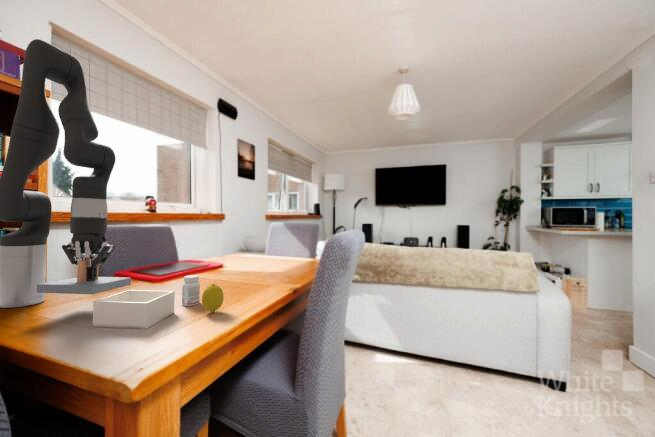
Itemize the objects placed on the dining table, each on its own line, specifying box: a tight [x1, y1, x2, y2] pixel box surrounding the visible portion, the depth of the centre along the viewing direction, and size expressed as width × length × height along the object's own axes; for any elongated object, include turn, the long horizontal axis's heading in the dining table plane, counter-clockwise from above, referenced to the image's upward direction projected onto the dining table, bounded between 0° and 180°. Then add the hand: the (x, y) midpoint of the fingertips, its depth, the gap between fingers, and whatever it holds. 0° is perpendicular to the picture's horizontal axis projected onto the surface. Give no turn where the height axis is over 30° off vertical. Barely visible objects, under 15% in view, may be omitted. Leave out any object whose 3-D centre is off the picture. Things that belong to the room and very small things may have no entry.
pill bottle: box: [181, 274, 201, 307], centre depth 84 cm, size 5×5×8 cm
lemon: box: [201, 283, 224, 313], centre depth 77 cm, size 6×6×8 cm
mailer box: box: [92, 289, 176, 330], centre depth 71 cm, size 13×11×6 cm
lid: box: [36, 260, 132, 295], centre depth 74 cm, size 14×12×8 cm
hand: (88, 280), depth 74 cm, fingers closed on lid, 1 cm apart
